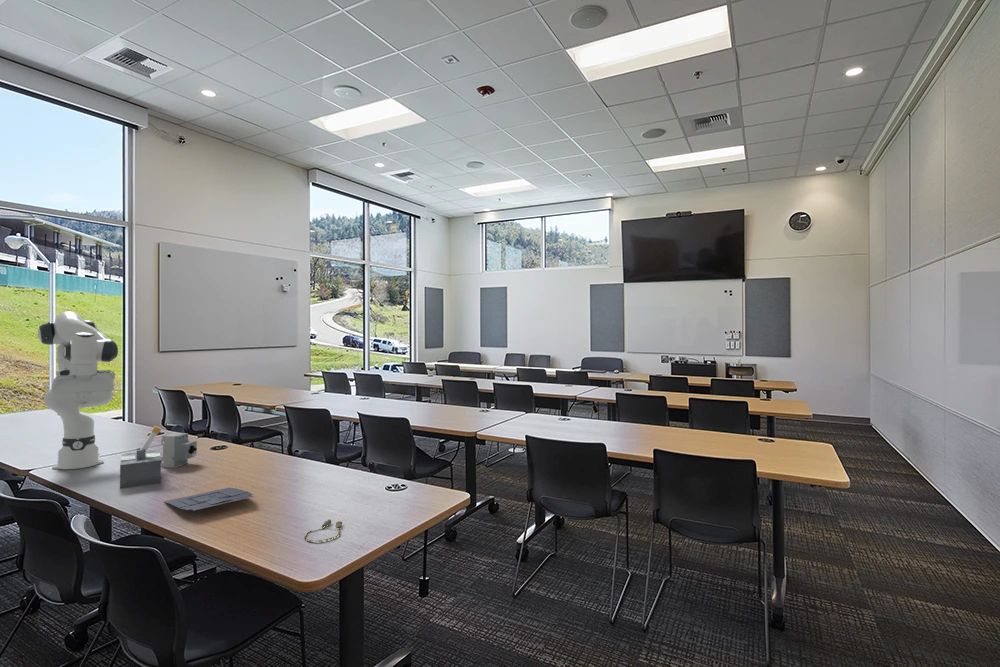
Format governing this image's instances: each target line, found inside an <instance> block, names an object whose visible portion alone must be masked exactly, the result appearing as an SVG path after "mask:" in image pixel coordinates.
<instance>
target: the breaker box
mask: <svg viewBox="0 0 1000 667" xmlns="http://www.w3.org/2000/svg"><path fill="white" fill-rule="evenodd" d="M141 448H142V447H137V448H136V452H128V453H121V456H120V464H119V465H120V466H119V489H120V490H121V489H127V488H135V487H142V486H151V485H158V484H161V479H162V476H161V475H162V467H161V453H160V452H161V451H160V450H159V449H157V450H146V452H145V449H143V450H140V449H141Z"/></svg>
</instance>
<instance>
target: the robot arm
mask: <svg viewBox="0 0 1000 667" xmlns="http://www.w3.org/2000/svg"><path fill="white" fill-rule="evenodd" d="M37 337H38V339H39V340H40V342H41V343H42V344H44V345H50V346H52V345H57V348H56V361H57V368H58V370H57V371H55V375H56V377H54V379H53V380H52V384H51V385H52V386H51V388H50V389H48V390H47V391H46V393H45V394H44V396H43V403H44V405H45V406H46V407H47V408H48V409H50V410H52V411H53V412H54V413H56V414H58V415H59V417H60V419H61V421H62V424H63V438H62V441H61V442H62V443H61V445H62V447H61V448H59V449H58V452H57V463H55V464H54V465H53V466H52V469H54V470H58V469H59V470H77V469H78V470H79V469H83V468H84V469H85V468H89V467H93V466H96V465H100V464H104V460H103V459H102V458H101V456H100V453H99V446H98V445H97V444H96V435H95V421H94V419H93V418H92V417H91V416H89V415H87V414H84V413H83V414H82V413H81V412H80V409H84V408H93V407H94V408H95V407H101V406H105V405H107V404H109V403H110V402H111V401H112V399H113V397H114V396H113V394H114V393H113V391H114V389H115V388H114V387H115V385H114V380H115V377H116V374H115V372H114V371H112V370H110V369H106V370H105V369H103V370H102V369H100V370H98V362H101V363H102V362H103V363H107V362H108V363H110V362H112V361H113V360H114V359H116V358H117V357H118V354H119V348H118V345H117V343H116V342H115V341H114V340H113V339H110V338H109V337H108V336H106V335H105V333H103V332H102V330H100V329H99V328H98V327H97V325H96V323H95V322H94V321H93V320H87V319H83V317H81V315H80V314H78V313H77V312H74V311H63V312H60V313H59V314H57V315H56V317H55V320H54V322H52V321H51V322H50V321H48V322H46V323H42V324H41V325H39V327H38V329H37Z"/></svg>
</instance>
